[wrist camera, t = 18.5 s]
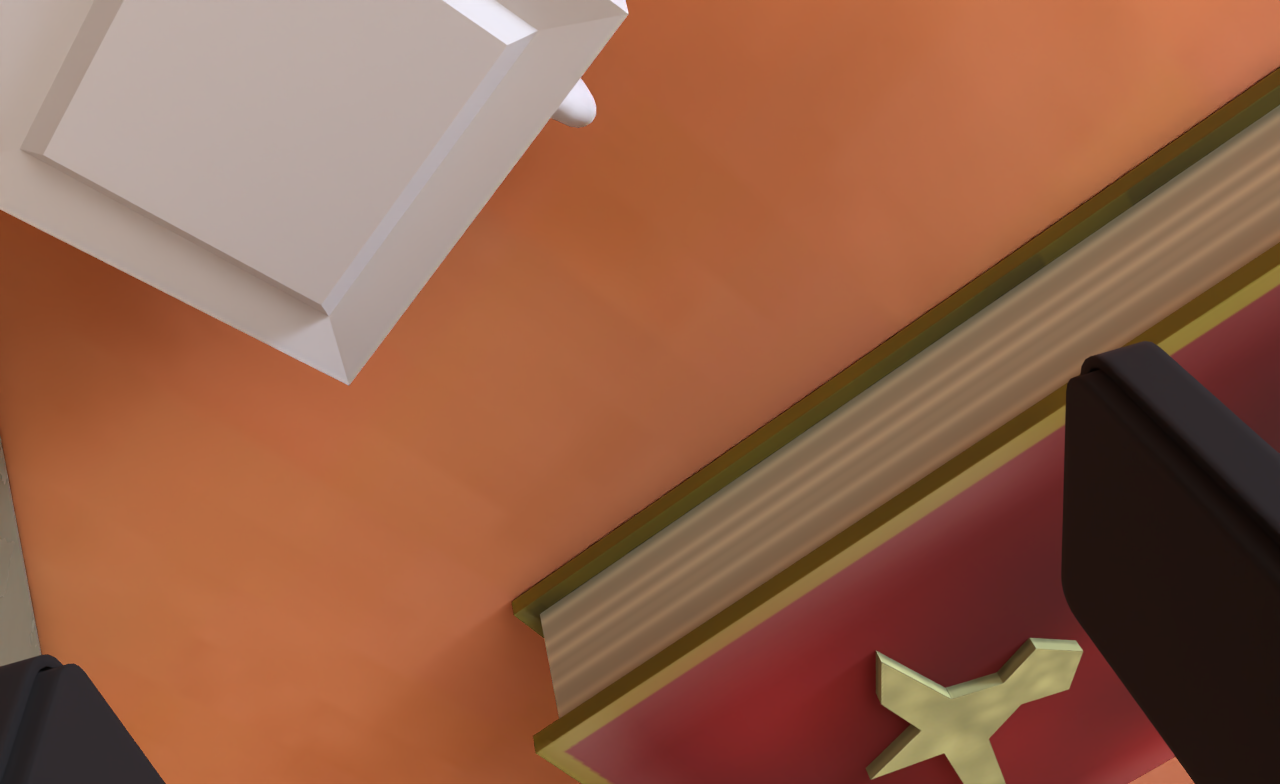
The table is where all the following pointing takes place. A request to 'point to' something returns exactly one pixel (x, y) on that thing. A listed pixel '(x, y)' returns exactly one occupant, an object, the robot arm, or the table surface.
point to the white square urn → (282, 144)
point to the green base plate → (13, 585)
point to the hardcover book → (922, 520)
